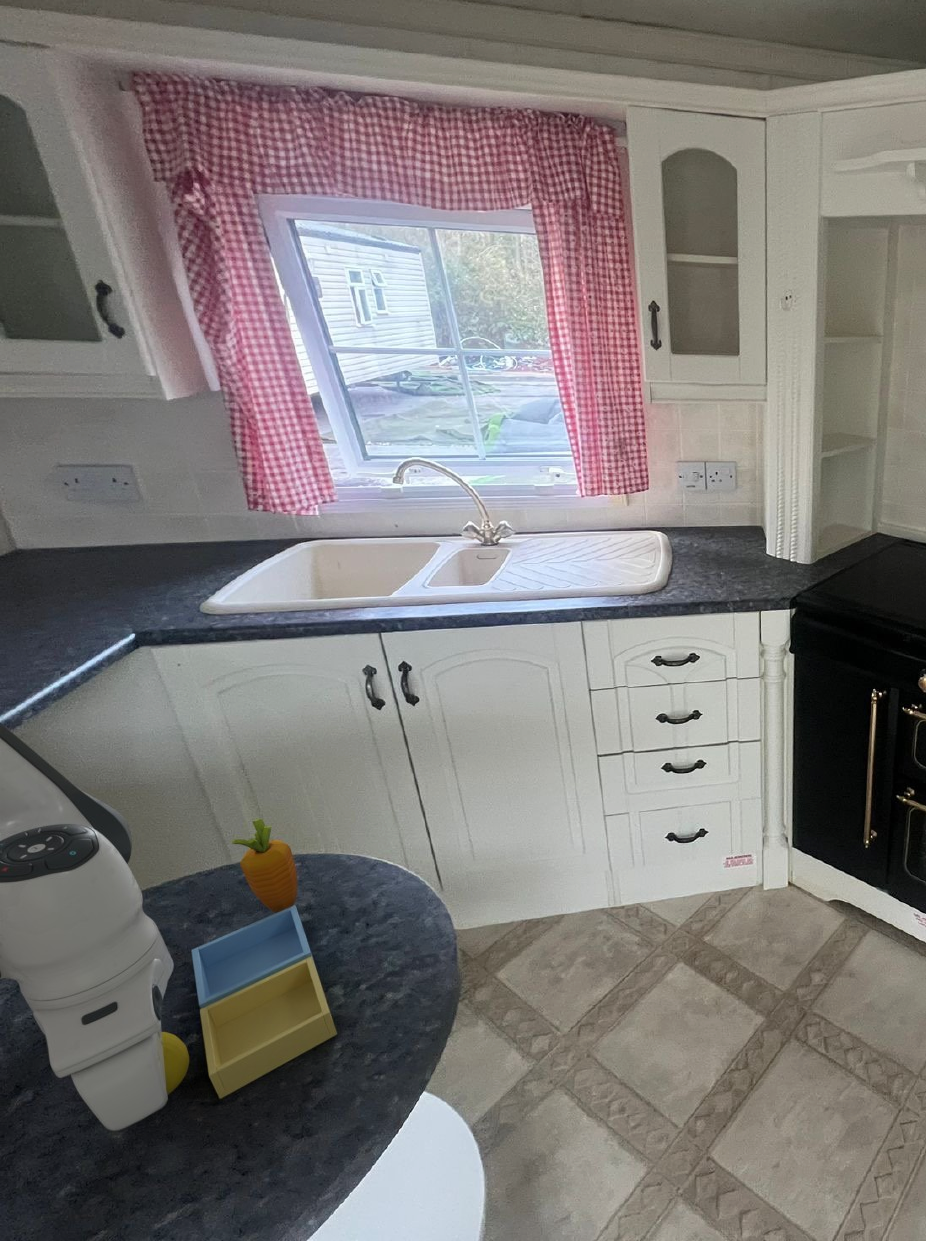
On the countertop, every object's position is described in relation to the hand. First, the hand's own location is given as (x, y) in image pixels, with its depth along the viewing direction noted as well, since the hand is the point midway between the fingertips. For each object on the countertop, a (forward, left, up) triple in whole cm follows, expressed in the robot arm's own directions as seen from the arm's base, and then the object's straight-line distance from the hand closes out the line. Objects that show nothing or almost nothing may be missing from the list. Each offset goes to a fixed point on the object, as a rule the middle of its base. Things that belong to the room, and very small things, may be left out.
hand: (154, 1077), depth 70 cm
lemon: (0, 0, -3) cm, 3 cm away
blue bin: (+9, +11, -3) cm, 15 cm away
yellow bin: (+9, +1, -3) cm, 9 cm away
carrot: (+13, +20, -3) cm, 24 cm away
